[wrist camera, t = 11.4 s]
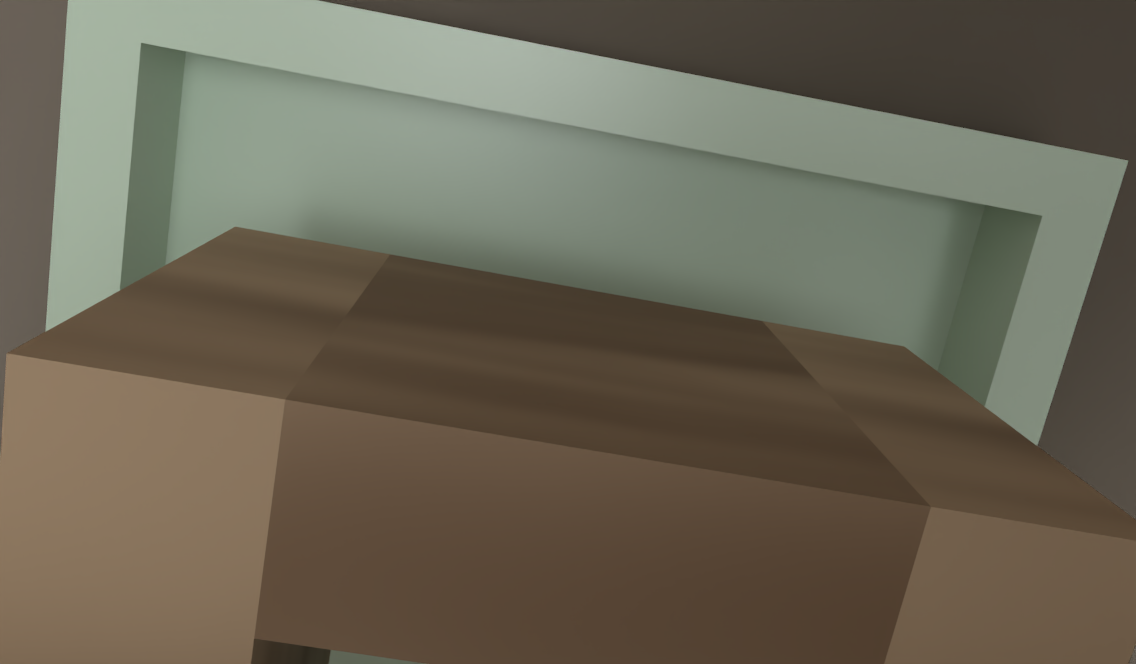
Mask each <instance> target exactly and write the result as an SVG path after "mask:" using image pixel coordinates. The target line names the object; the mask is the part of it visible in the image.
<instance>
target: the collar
mask: <svg viewBox="0 0 1136 664" xmlns="http://www.w3.org/2000/svg"><path fill="white" fill-rule="evenodd" d="M1135 645H1136V520H1135V519H1134V518H1132V517H1131V516H1130V515H1128V514H1127V513H1126V512H1124V511H1123V510H1122V509H1120V508H1119V507H1118V506H1116V505H1115V504H1114V503H1112V502H1111V501H1110V500H1108V499H1107V498H1106V497H1104V496H1103V495H1102V494H1100V493H1099V492H1098V491H1096V490H1095V489H1094V488H1092V487H1091V486H1090V485H1088V484H1087V483H1086V482H1084V481H1083V480H1082V479H1080V478H1079V477H1078V476H1076V475H1075V474H1074V473H1072V472H1071V471H1070V470H1068V469H1067V468H1066V467H1064V466H1063V465H1062V464H1060V463H1059V462H1058V461H1056V460H1055V459H1054V458H1052V457H1051V456H1050V455H1048V454H1047V453H1046V452H1044V451H1043V450H1042V449H1040V448H1039V447H1038V446H1036V445H1035V444H1034V443H1032V442H1031V441H1030V440H1028V439H1027V438H1026V437H1024V436H1023V435H1022V434H1020V433H1019V432H1018V431H1016V430H1015V429H1014V428H1012V427H1011V426H1010V425H1008V424H1007V423H1006V422H1004V421H1003V420H1002V419H1000V418H999V417H998V416H996V415H995V414H994V413H992V412H991V411H990V410H988V409H987V408H986V407H984V406H983V405H982V404H980V403H979V402H978V401H976V400H975V399H974V398H972V397H971V396H970V395H968V394H967V393H966V392H964V391H963V390H962V389H960V388H959V387H958V386H956V385H955V384H954V383H952V382H951V381H950V380H948V379H947V378H946V377H944V376H943V375H942V374H940V373H939V372H938V371H936V370H935V369H934V368H932V367H931V366H930V365H928V364H927V363H926V362H924V361H923V360H922V359H920V358H919V357H918V356H916V355H915V354H914V353H912V352H911V351H910V350H908V349H907V348H906V347H904V346H899V345H894V344H888V343H883V342H877V341H871V340H866V339H860V338H855V337H849V336H843V335H838V334H832V333H827V332H821V331H816V330H810V329H804V328H799V327H793V326H788V325H782V324H776V323H771V322H765V321H760V320H754V319H749V318H743V317H737V316H732V315H726V314H721V313H715V312H709V311H704V310H698V309H693V308H687V307H682V306H676V305H670V304H665V303H659V302H654V301H648V300H642V299H637V298H631V297H626V296H620V295H615V294H609V293H603V292H598V291H592V290H587V289H581V288H575V287H570V286H564V285H559V284H553V283H548V282H542V281H536V280H531V279H525V278H520V277H514V276H508V275H503V274H497V273H492V272H486V271H481V270H475V269H469V268H464V267H458V266H453V265H447V264H441V263H436V262H430V261H425V260H419V259H414V258H408V257H402V256H397V255H391V254H386V253H380V252H374V251H369V250H363V249H358V248H352V247H347V246H341V245H335V244H330V243H324V242H319V241H313V240H307V239H302V238H296V237H291V236H285V235H280V234H274V233H268V232H263V231H257V230H252V229H246V228H240V227H233V228H232V229H230V230H228V231H226V232H224V233H223V234H221V235H219V236H217V237H215V238H214V239H212V240H210V241H208V242H206V243H205V244H203V245H201V246H199V247H197V248H196V249H194V250H192V251H190V252H188V253H187V254H185V255H183V256H181V257H179V258H178V259H176V260H174V261H172V262H170V263H169V264H167V265H165V266H163V267H161V268H159V269H158V270H156V271H154V272H152V273H150V274H149V275H147V276H145V277H143V278H141V279H140V280H138V281H136V282H134V283H132V284H131V285H129V286H127V287H125V288H123V289H122V290H120V291H118V292H116V293H114V294H113V295H111V296H109V297H107V298H105V299H104V300H102V301H100V302H98V303H96V304H95V305H93V306H91V307H89V308H87V309H86V310H84V311H82V312H80V313H78V314H77V315H75V316H73V317H71V318H69V319H68V320H66V321H64V322H62V323H60V324H59V325H57V326H55V327H53V328H51V329H49V330H48V331H46V332H44V333H42V334H40V335H39V336H37V337H35V338H33V339H31V340H30V341H28V342H26V343H24V344H22V345H21V346H19V347H17V348H15V349H13V350H12V351H10V352H8V353H7V355H6V372H5V388H4V405H3V422H2V439H1V455H0V664H329V659H330V652H331V650H336V651H343V652H349V653H356V654H363V655H370V656H377V657H383V658H390V659H397V660H404V661H411V662H418V663H424V664H1129V661H1130V659H1131V656H1132V653H1133V650H1134V648H1135Z"/></svg>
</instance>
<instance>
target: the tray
mask: <svg viewBox="0 0 1136 664" xmlns="http://www.w3.org/2000/svg"><path fill="white" fill-rule="evenodd" d="M1127 164H1128V160H1123V159H1118V158H1113V157H1108V156H1103V155H1098V154H1092V153H1087V152H1082V151H1077V150H1072V149H1067V148H1062V147H1057V146H1052V145H1047V144H1042V143H1037V142H1032V141H1027V140H1022V139H1017V138H1012V137H1006V136H1001V135H996V134H991V133H986V132H981V131H976V130H971V129H966V128H961V127H956V126H951V125H946V124H941V123H936V122H931V121H926V120H920V119H915V118H910V117H905V116H900V115H895V114H890V113H885V112H880V111H875V110H870V109H865V108H860V107H855V106H850V105H845V104H840V103H834V102H829V101H824V100H819V99H814V98H809V97H804V96H799V95H794V94H789V93H784V92H779V91H774V90H769V89H764V88H759V87H754V86H748V85H743V84H738V83H733V82H728V81H723V80H718V79H713V78H708V77H703V76H698V75H693V74H688V73H683V72H678V71H673V70H668V69H662V68H657V67H652V66H647V65H642V64H637V63H632V62H627V61H622V60H617V59H612V58H607V57H602V56H597V55H592V54H587V53H582V52H576V51H571V50H566V49H561V48H556V47H551V46H546V45H541V44H536V43H531V42H526V41H521V40H516V39H511V38H506V37H501V36H496V35H491V34H485V33H480V32H475V31H470V30H465V29H460V28H455V27H450V26H445V25H440V24H435V23H430V22H425V21H420V20H415V19H410V18H405V17H399V16H394V15H389V14H384V13H379V12H374V11H369V10H364V9H359V8H354V7H349V6H344V5H339V4H334V3H329V2H324V1H319V0H68V10H67V24H66V39H65V54H64V68H63V83H62V97H61V112H60V127H59V141H58V156H57V171H56V185H55V200H54V215H53V229H52V244H51V259H50V273H49V288H48V303H47V317H46V331H48V330H49V329H51V328H53V327H55V326H57V325H59V324H60V323H62V322H64V321H66V320H68V319H69V318H71V317H73V316H75V315H77V314H78V313H80V312H82V311H84V310H86V309H87V308H89V307H91V306H93V305H95V304H96V303H98V302H100V301H102V300H104V299H105V298H107V297H109V296H111V295H113V294H114V293H116V292H118V291H120V290H122V289H123V288H125V287H127V286H129V285H131V284H132V283H134V282H136V281H138V280H140V279H141V278H143V277H145V276H147V275H149V274H150V273H152V272H154V271H156V270H158V269H159V268H161V267H163V266H165V265H167V264H169V263H170V262H172V261H174V260H176V259H178V258H179V257H181V256H183V255H185V254H187V253H188V252H190V251H192V250H194V249H196V248H197V247H199V246H201V245H203V244H205V243H206V242H208V241H210V240H212V239H214V238H215V237H217V236H219V235H221V234H223V233H224V232H226V231H228V230H230V229H232V228H233V227H240V228H246V229H252V230H257V231H263V232H268V233H274V234H280V235H285V236H291V237H296V238H302V239H307V240H313V241H319V242H324V243H330V244H335V245H341V246H347V247H352V248H358V249H363V250H369V251H374V252H380V253H386V254H391V255H397V256H402V257H408V258H414V259H419V260H425V261H430V262H436V263H441V264H447V265H453V266H458V267H464V268H469V269H475V270H481V271H486V272H492V273H497V274H503V275H508V276H514V277H520V278H525V279H531V280H536V281H542V282H548V283H553V284H559V285H564V286H570V287H575V288H581V289H587V290H592V291H598V292H603V293H609V294H615V295H620V296H626V297H631V298H637V299H642V300H648V301H654V302H659V303H665V304H670V305H676V306H682V307H687V308H693V309H698V310H704V311H709V312H715V313H721V314H726V315H732V316H737V317H743V318H749V319H754V320H760V321H765V322H771V323H776V324H782V325H788V326H793V327H799V328H804V329H810V330H816V331H821V332H827V333H832V334H838V335H843V336H849V337H855V338H860V339H866V340H871V341H877V342H883V343H888V344H894V345H899V346H904V347H906V348H907V349H908V350H910V351H911V352H912V353H914V354H915V355H916V356H918V357H919V358H920V359H922V360H923V361H924V362H926V363H927V364H928V365H930V366H931V367H932V368H934V369H935V370H936V371H938V372H939V373H940V374H942V375H943V376H944V377H946V378H947V379H948V380H950V381H951V382H952V383H954V384H955V385H956V386H958V387H959V388H960V389H962V390H963V391H964V392H966V393H967V394H968V395H970V396H971V397H972V398H974V399H975V400H976V401H978V402H979V403H980V404H982V405H983V406H984V407H986V408H987V409H988V410H990V411H991V412H992V413H994V414H995V415H996V416H998V417H999V418H1000V419H1002V420H1003V421H1004V422H1006V423H1007V424H1008V425H1010V426H1011V427H1012V428H1014V429H1015V430H1016V431H1018V432H1019V433H1020V434H1022V435H1023V436H1024V437H1026V438H1027V439H1028V440H1030V441H1031V442H1032V443H1034V444H1035V445H1036V446H1037V445H1038V442H1039V439H1040V436H1041V433H1042V430H1043V427H1044V423H1045V420H1046V417H1047V414H1048V411H1049V408H1050V405H1051V402H1052V398H1053V395H1054V392H1055V389H1056V386H1057V383H1058V380H1059V377H1060V373H1061V370H1062V367H1063V364H1064V361H1065V358H1066V355H1067V352H1068V348H1069V345H1070V342H1071V339H1072V336H1073V333H1074V330H1075V326H1076V323H1077V320H1078V317H1079V314H1080V311H1081V308H1082V305H1083V301H1084V298H1085V295H1086V292H1087V289H1088V286H1089V283H1090V280H1091V276H1092V273H1093V270H1094V267H1095V264H1096V261H1097V258H1098V255H1099V251H1100V248H1101V245H1102V242H1103V239H1104V236H1105V233H1106V229H1107V226H1108V223H1109V220H1110V217H1111V214H1112V211H1113V208H1114V204H1115V201H1116V198H1117V195H1118V192H1119V189H1120V186H1121V183H1122V179H1123V176H1124V173H1125V170H1126V167H1127ZM329 664H424V663H418V662H411V661H404V660H397V659H390V658H383V657H377V656H370V655H363V654H356V653H349V652H343V651H336V650H331V652H330V659H329Z"/></svg>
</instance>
